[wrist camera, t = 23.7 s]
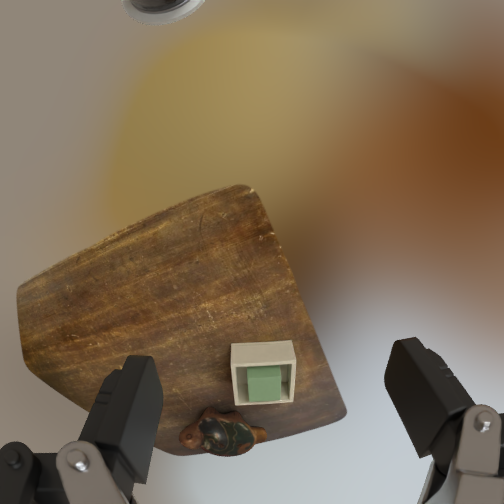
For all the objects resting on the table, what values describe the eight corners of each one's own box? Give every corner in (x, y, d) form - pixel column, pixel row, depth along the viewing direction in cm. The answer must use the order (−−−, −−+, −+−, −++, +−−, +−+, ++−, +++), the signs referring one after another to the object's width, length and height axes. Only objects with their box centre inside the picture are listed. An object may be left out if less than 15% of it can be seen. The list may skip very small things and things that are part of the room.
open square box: (231, 343, 42) (230, 364, 38) (291, 340, 43) (296, 360, 38) (235, 384, 45) (235, 405, 41) (289, 381, 46) (293, 401, 41)
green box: (246, 355, 42) (247, 378, 38) (277, 353, 43) (281, 376, 38) (248, 378, 44) (248, 402, 40) (277, 377, 44) (280, 400, 40)
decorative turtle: (180, 397, 46) (177, 432, 39) (268, 401, 49) (276, 435, 41) (180, 430, 49) (178, 462, 41) (259, 433, 51) (264, 465, 44)
